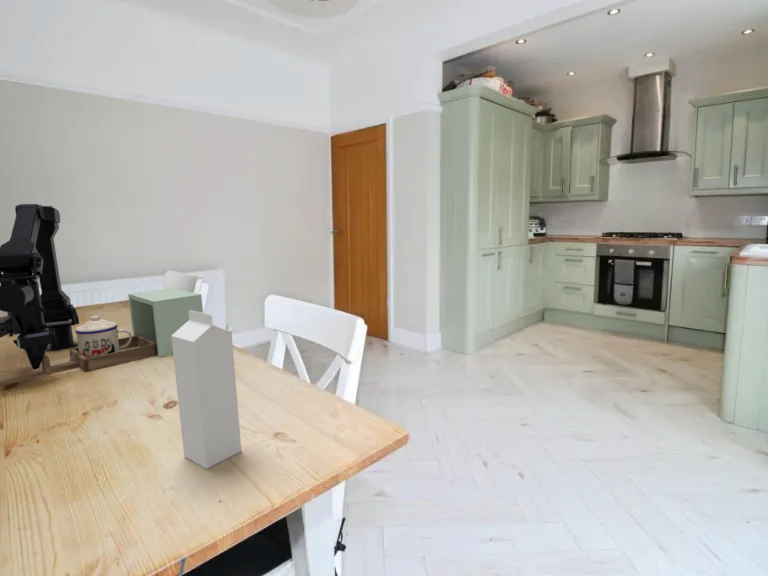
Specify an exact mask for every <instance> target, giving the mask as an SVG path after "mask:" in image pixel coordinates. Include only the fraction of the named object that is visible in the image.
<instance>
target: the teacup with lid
mask: <svg viewBox="0 0 768 576" xmlns="http://www.w3.org/2000/svg"><path fill="white" fill-rule="evenodd" d="M74 332H75V334H76V339H77V344H78V345H77V346H78V347H79V353H80V354H82V355H83V356H84V357H86V358H91V357H96V356H100V355H105V354H110V353H114V352H119V351H121V350H120V349H121V348H124V347H127V346H128V345H129V344H130V342H131V340H132V336H133V333H132V332H131V331H130V330H129V329H126V328H121V329H118V324H117V322H116V321H115V322H114V321H109V320H106V319H103V318H101V316H100V315H92V316H90V320H87V321H86V322H85V323H84V324H81V325H78V326H77V327H76V328H75V330H74ZM119 333H125V334H128V337H129V339H128V341H127V343H126V344H124V345H120V346H119V341H118V339H119V335H118V334H119Z"/></svg>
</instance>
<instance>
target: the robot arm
mask: <svg viewBox="0 0 768 576" xmlns="http://www.w3.org/2000/svg"><path fill="white" fill-rule="evenodd" d="M14 209H15V210H14V211H15V219H14V223H13V226H12V230H11V233H10V238H9V240H8V241H7V242H4V243H2V244H1V245H0V311H1V312H5V313H7V315H6V316H4V317H1V318H0V339H1V338H2V337H5V336H8V337H9V338H12V337H13V336H14V335H15V336H16V339H14V340H12V342H13V343H14V345H15V346H16V347H17V348H19V349H20V350H23V351H24V353H25V355H26V357H27V360H28V362H29V364H30V366H31V368H32V369H33V370H38V369H40V367H41V365H42V364H41V362H42V359H43V356H44V354H46V351H47V349H48V350H49V351H57V350H62V349H66V348H71V347H72V348H74V347H77V346H78V342H76V341H74V335H73V328H72V326H76V325H80V319H79V314H78V311H77V309H76V308H75V307H74V304H72V303H71V299H70V296H69V295H68V294H66V292H64V291H63V290H62V284H61V277H60V272H59V271H60V270H59V265H58V260H57V252H56V246H55V239H54V238H55V237H56V235H57V233H58V232H59V230H60V223H61V214H60V211H59V210H58V209H57V208H55V207H54V206H52V205H42V204H38V203H19V204H18V205H15V207H14ZM38 280H39V282H38ZM40 290H41V291H40Z"/></svg>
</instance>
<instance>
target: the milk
mask: <svg viewBox="0 0 768 576" xmlns="http://www.w3.org/2000/svg"><path fill="white" fill-rule="evenodd" d="M232 334H233V333H232V331H229V330H227V329H225V328H221V327H219V326H217V325H213V317H212V314H210V313H206V312H203V313H201V312H196V311H192V310H189V321H188V322H186V323H185V324H184V325H183V326H182V327H181V328H179V329H178V330H177V331H176V332H175V333H174V334H173V335H172V336H171V338H172V347H173V354H172V356H173V364H174V372H175V373H174V374H175V382H176V384H175V385H176V392H177V401H178V410H179V411H178V412H179V420H180V421H179V422H180V428H181V429H180V430H181V440H182V448H183V456H184V458H186V459H188V460H189V461H191V462H194V463H195V464H196V465H198V466H199V467H201V468H203V469H205V470H208V469H210V468H212V467H213V466H215V465H217V464H219V463H221V462H223V461H225V460H227V459H229V458H231V457H233V456H235V455H237V454H239V453H240V452H242V442H241V431H240V419H239V418H240V417H239V404H238V394H237V393H238V392H237V384H236V383H237V381H236V372H235V371H236V370H235V358H234V348H233V347H234V345H233V336H232Z"/></svg>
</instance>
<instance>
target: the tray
mask: <svg viewBox="0 0 768 576" xmlns="http://www.w3.org/2000/svg"><path fill="white" fill-rule="evenodd" d="M128 339H129V336H127V337H121V338H118V341H119V346H120V345H124V344H126V343H127V341H128ZM68 350H69V356H70V357H69V358H70V361H68V362H63V363H58V364H54V365H51V360H50V357H49V356H48V355H47V354H46V353H45V354H44V356H43V359H42V362H41V364H40V365H41V370H42V373H44V374H45V375H46V376H49V375H48V374H50V375H52V374H54V372H55V373H59V371H60V372H64V371H68V370H72V369H77V368H80V369H81V370H83V371H84V372H85V373H87V372H92V371H96V370H101V369H103V368H108V367H113V366H116V365H121V364H126V363H130V362H135V361H139V360H143V359H146V358H147V359H148V358H151V356H152V357H156V356H158V350H157V342H156V341H150V340H148V339H146V338H144V337H142V336H140V335H136V336H133V335H132V340H131V342H130V344H129V345H128V346H127V347H124V348H121V349H120V351H119V352H114V353H110V354H105V355H100V356H96V357H91V358H86V357H84V356H83V355H82V354H80V353H79V347H77V346H75V347H72V348H71V347H70V348H69V349H68ZM155 355H156V356H155ZM63 370H64V371H63Z"/></svg>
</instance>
